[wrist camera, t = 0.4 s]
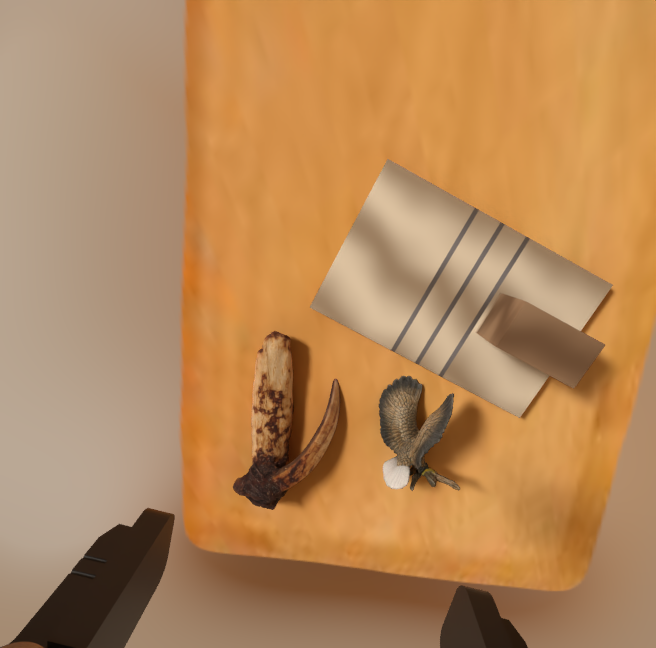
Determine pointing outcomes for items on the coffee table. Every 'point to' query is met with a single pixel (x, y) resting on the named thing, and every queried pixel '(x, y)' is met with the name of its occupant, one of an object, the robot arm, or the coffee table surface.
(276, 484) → the lashed bone hook
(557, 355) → the block
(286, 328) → the coffee table surface
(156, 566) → the robot arm
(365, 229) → the birch board
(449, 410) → the eagle figurine
